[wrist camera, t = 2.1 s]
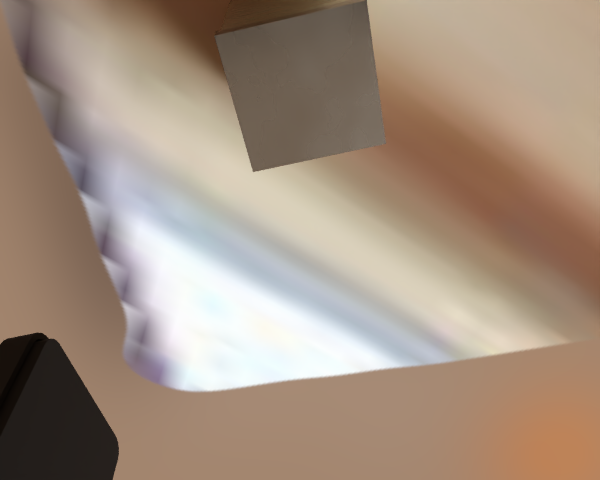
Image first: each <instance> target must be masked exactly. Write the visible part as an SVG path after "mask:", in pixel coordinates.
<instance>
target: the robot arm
mask: <svg viewBox="0 0 600 480" xmlns="http://www.w3.org/2000/svg"><path fill="white" fill-rule="evenodd" d="M118 455H119V447H118V441H117V438H116V436H115V434H114V432H113V431H112V429H111V428H110V426H109V424H108V423H107V421H106V420H105V418H104V416H103V414H102V413H101V411H100V410H99V408H98V406H97V405H96V403H95V402H94V400H93V398H92V396H91V395H90V393H89V392H88V390H87V388H86V387H85V385H84V383H83V382H82V380H81V378H80V377H79V375H78V374H77V372H76V370H75V369H74V367H73V365H72V364H71V362H70V360H69V359H68V357H67V356H66V354H65V352H64V351H63V349H62V347H61V346H60V344H59V343H58V342H57V341H56V340H55V339H48V337H47V336H46V335H44V334H43V333H33V334H29V335H24V336H18V337H14V338H8V339H6V340H4V341H3V342H2V343H1V344H0V480H113V475H114V471H115V468H116V464H117V460H118Z"/></svg>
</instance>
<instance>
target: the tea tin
mask: <svg viewBox="0 0 600 480" xmlns="http://www.w3.org/2000/svg"><path fill="white" fill-rule="evenodd" d="M214 36H215V40H216V43H217V47H218V50H219V54H220V57H221V61H222V64H223V68H224V71H225V75H226V78H227V82H228V85H229V89H230V92H231V96H232V99H233V103H234V106H235V110H236V113H237V117H238V120H239V124H240V127H241V131H242V134H243V138H244V141H245V145H246V148H247V152H248V155H249V159H250V162H251V166H252V169H253V172H255V171H260V170H265V169H269V168H274V167H279V166H283V165H288V164H293V163H298V162H302V161H307V160H312V159H316V158H321V157H326V156H330V155H335V154H340V153H345V152H349V151H354V150H359V149H363V148H368V147H373V146H378V145H382V144H386V141H385V134H384V126H383V119H382V111H381V104H380V96H379V89H378V82H377V74H376V67H375V59H374V52H373V45H372V37H371V30H370V22H369V15H368V8H367V0H231V1H230V4H229V7H228V10H227V13H226V16H225V19H224V22H223V25H222V28H221V31H217V32H216V33H215V35H214Z"/></svg>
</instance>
